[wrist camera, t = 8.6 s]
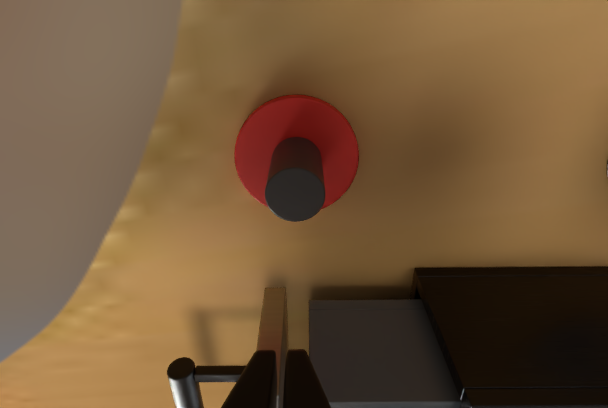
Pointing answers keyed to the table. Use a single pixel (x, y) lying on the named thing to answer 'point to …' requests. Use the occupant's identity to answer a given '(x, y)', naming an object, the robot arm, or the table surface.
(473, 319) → the cabinet
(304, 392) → the robot arm
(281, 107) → the red lid
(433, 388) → the drawer
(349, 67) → the table surface
